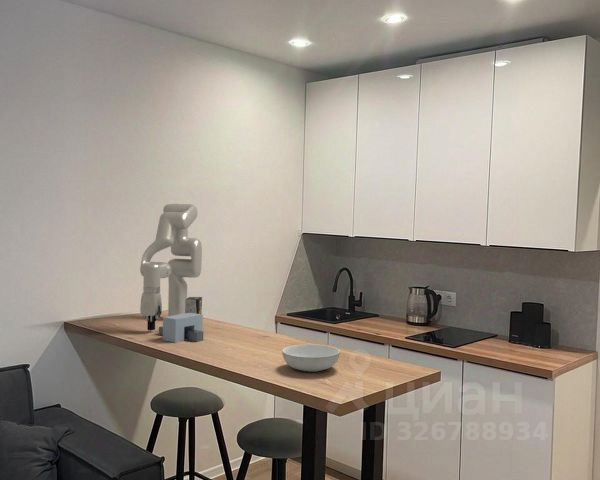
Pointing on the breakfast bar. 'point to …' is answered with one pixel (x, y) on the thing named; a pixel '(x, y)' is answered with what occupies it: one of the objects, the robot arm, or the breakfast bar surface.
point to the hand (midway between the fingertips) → (151, 329)
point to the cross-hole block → (180, 325)
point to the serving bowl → (310, 357)
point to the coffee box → (193, 305)
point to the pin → (189, 334)
